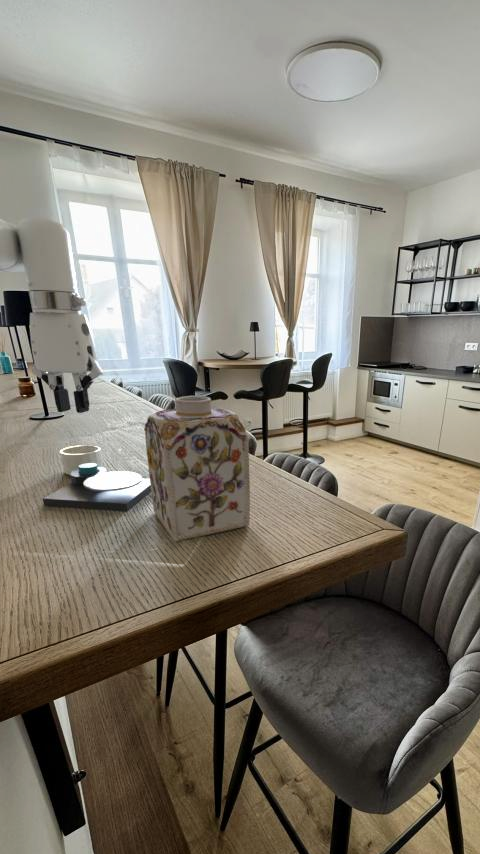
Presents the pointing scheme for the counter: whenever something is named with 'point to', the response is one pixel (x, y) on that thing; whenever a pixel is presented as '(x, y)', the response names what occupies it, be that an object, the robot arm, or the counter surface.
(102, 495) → the scale
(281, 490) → the counter surface
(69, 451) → the bowl
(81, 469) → the tare button
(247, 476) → the decorative jar
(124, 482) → the scale pan
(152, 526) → the counter surface
